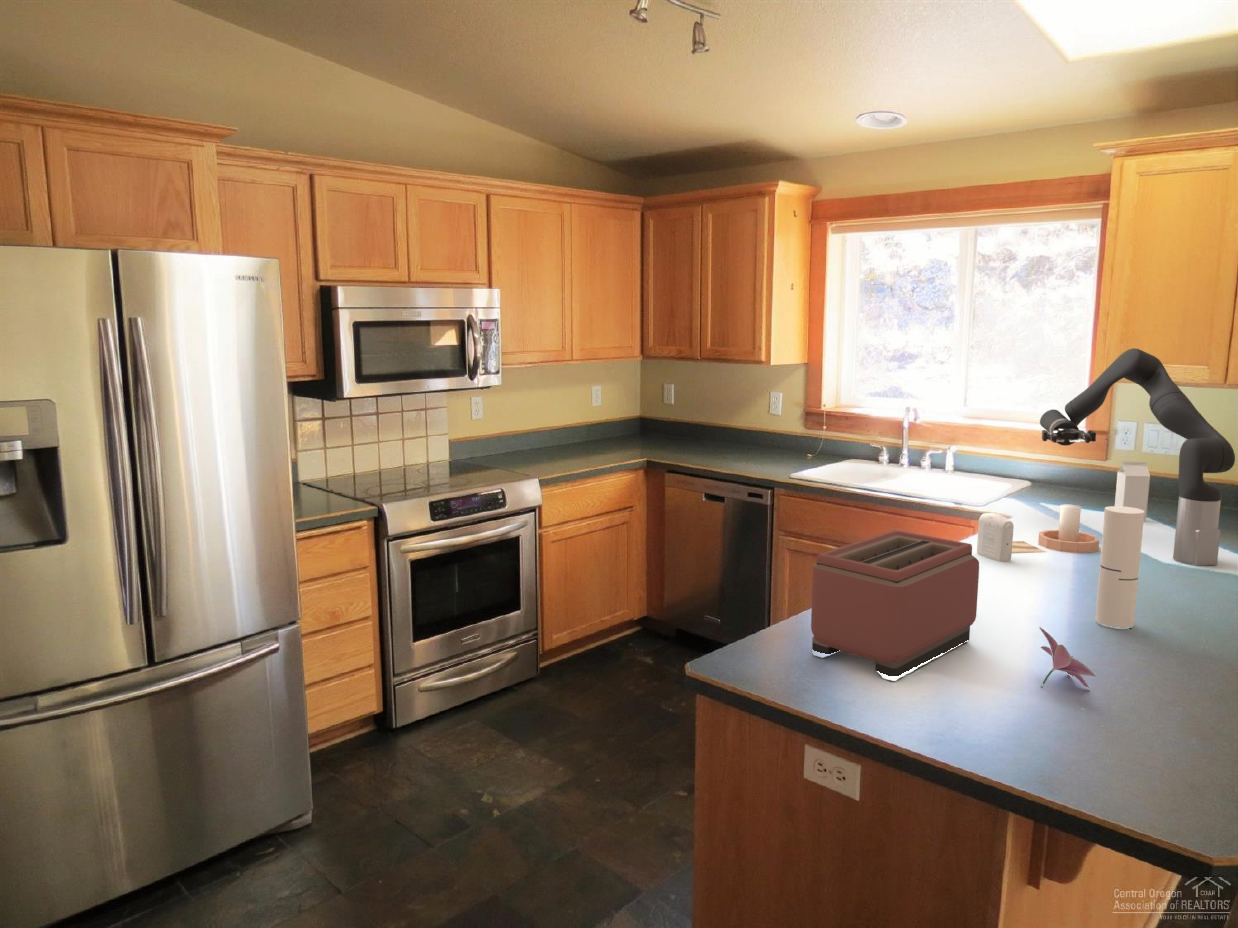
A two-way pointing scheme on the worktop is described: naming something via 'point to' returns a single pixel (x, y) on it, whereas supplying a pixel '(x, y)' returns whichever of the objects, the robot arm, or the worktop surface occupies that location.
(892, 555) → the toaster
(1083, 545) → the bowl
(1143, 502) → the milk carton
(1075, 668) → the lily
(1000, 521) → the photo printer
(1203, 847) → the worktop surface
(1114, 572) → the cylindrical container
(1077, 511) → the pillar candle
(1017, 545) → the cork mat
